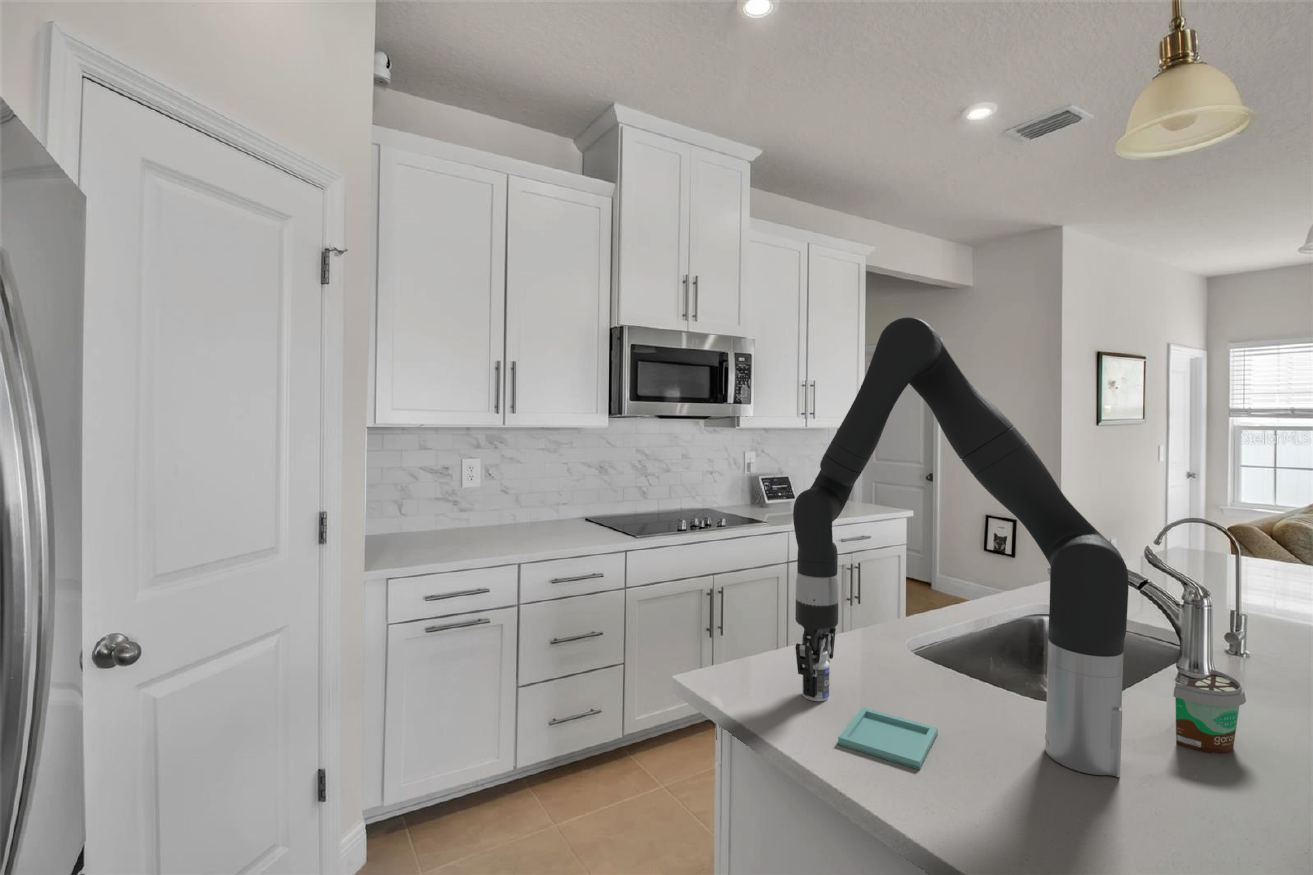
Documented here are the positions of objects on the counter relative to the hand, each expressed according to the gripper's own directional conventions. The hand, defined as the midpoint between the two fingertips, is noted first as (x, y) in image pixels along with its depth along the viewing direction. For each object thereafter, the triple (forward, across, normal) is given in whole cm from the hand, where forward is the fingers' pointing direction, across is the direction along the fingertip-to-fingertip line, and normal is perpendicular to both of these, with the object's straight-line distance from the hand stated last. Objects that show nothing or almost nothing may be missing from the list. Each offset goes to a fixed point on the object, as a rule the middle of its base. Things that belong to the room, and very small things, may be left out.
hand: (815, 689), depth 115 cm
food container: (+1, +19, -57) cm, 60 cm away
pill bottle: (+1, 0, 0) cm, 1 cm away
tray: (+1, -8, -15) cm, 17 cm away
